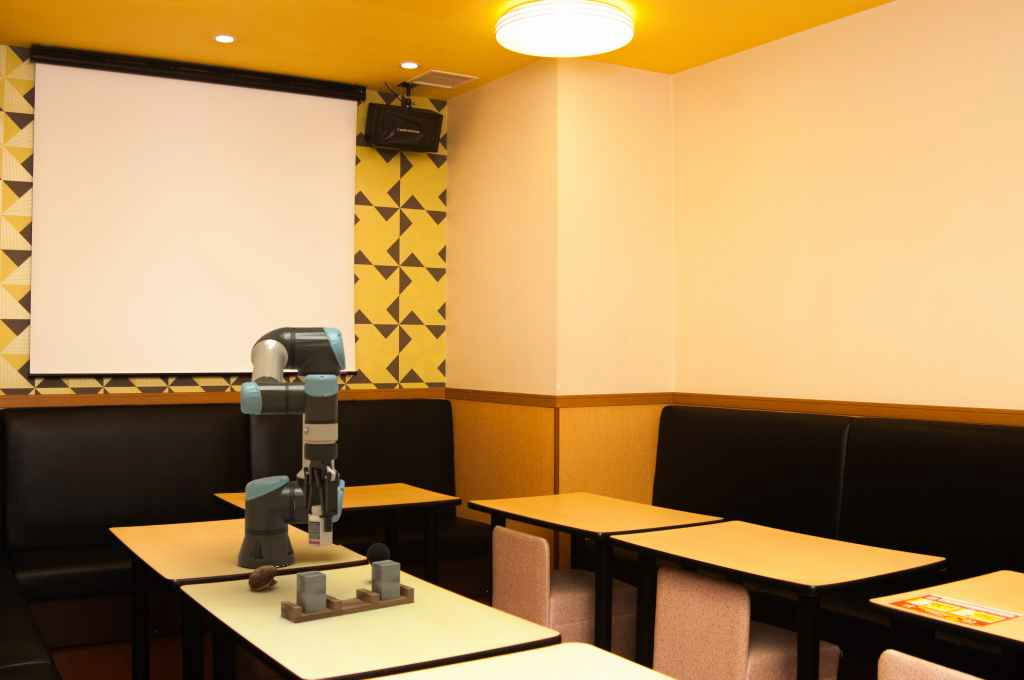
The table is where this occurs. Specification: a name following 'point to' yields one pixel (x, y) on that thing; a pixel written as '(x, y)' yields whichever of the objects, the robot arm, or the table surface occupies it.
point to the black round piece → (378, 553)
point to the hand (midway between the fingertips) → (320, 543)
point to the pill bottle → (315, 526)
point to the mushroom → (263, 578)
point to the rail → (321, 605)
